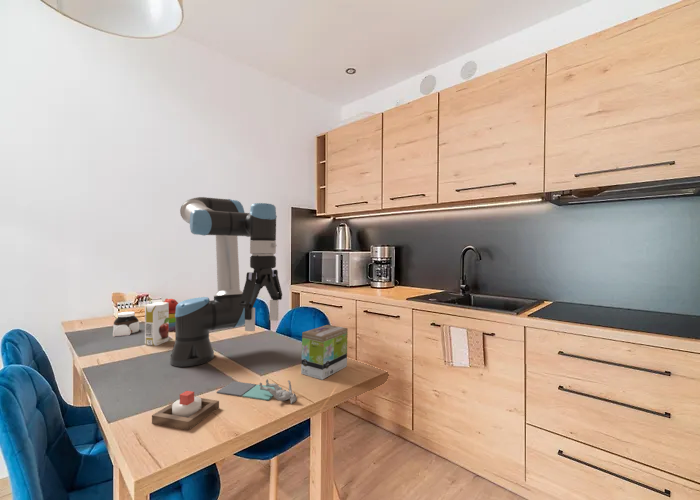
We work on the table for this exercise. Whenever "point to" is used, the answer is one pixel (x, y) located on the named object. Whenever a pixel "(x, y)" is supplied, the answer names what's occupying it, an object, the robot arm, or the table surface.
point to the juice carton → (156, 323)
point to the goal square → (259, 393)
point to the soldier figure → (279, 392)
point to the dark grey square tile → (236, 388)
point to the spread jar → (125, 324)
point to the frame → (185, 423)
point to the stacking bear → (172, 313)
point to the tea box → (324, 351)
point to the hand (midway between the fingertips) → (262, 325)
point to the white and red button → (186, 405)
